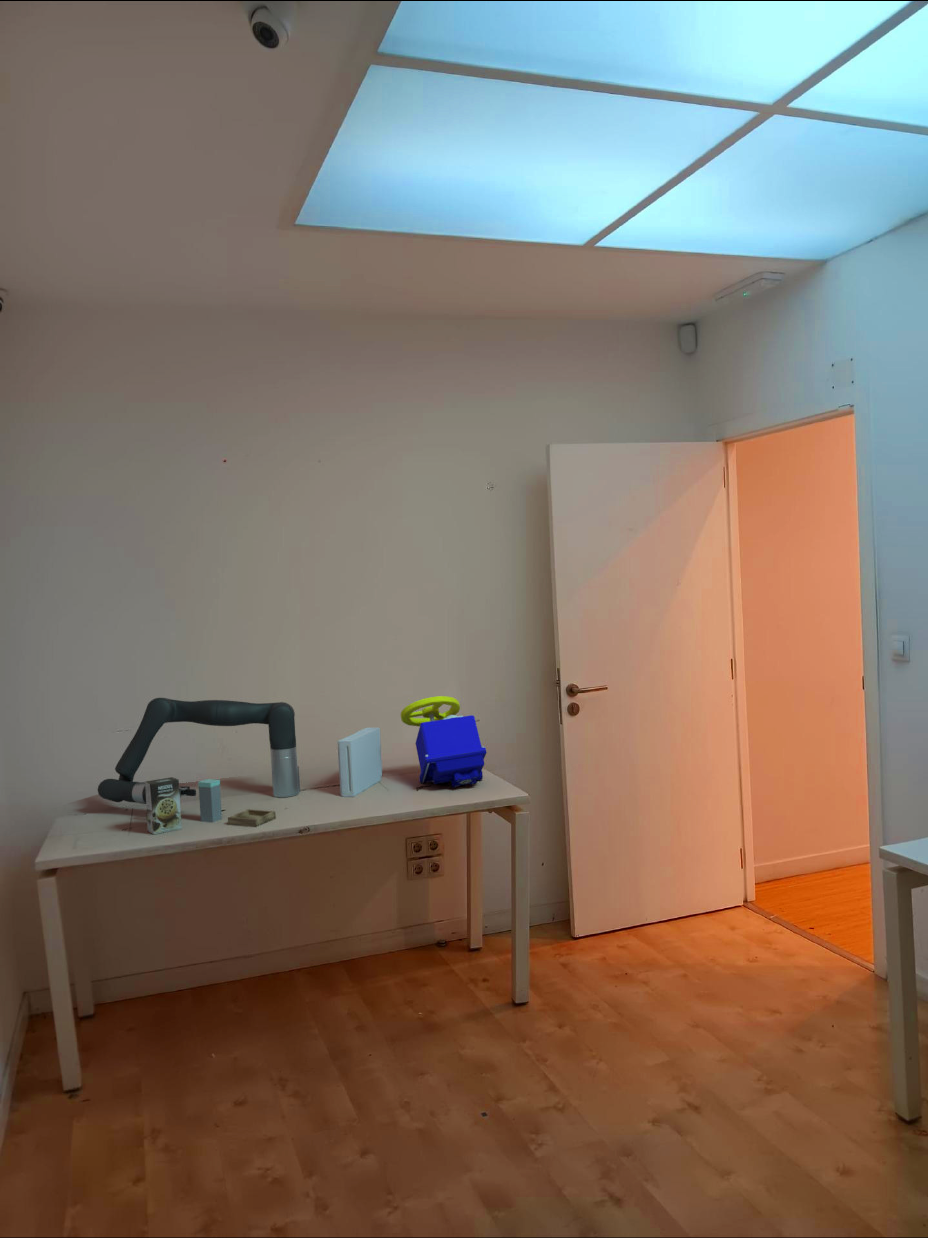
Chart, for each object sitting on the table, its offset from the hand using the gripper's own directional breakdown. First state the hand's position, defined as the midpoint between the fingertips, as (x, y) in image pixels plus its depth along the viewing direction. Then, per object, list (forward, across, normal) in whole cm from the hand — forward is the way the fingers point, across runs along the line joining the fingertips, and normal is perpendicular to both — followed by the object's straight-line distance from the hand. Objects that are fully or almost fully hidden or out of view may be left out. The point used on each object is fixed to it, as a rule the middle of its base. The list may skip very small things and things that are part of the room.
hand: (186, 795), depth 313 cm
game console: (+36, +52, +8) cm, 64 cm away
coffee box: (+3, -14, +8) cm, 16 cm away
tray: (+25, +2, +8) cm, 26 cm away
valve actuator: (+64, +64, +8) cm, 91 cm away
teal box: (+10, 0, +8) cm, 12 cm away
